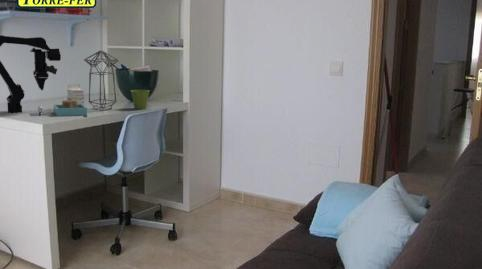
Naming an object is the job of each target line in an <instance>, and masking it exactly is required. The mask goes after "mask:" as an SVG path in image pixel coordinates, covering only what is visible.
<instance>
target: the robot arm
mask: <svg viewBox="0 0 482 269" xmlns="http://www.w3.org/2000/svg"><path fill="white" fill-rule="evenodd" d="M3 44H13V45H24V46H29V47H32V48H31V49H30V51H29V52H30V53H33V54H34V56H33V57H34V62H33V63H34V70H33V71H32V72H33V73H32V74H33V77H34V80H35V81H36V84H37V86H38V89H39V90H41V91H44V88H45V82H46V80H48V79H49V77H50V76H49V73H51V74H53V75H55V76H56V75H57V72H58V69H57V68H56V67H55V66H54V65H50V66H49V65H48V63H47V60H48V61H49V62H59V61H61V58H62V57H61V56H62V55H61V52H60V48H50V47H49V46H48V44H47V41H46V39H45V38H44V37H41V36H40V37H38V36H35V37H17V36H8V35H7V36H6V35H3V34H2V35H0V47H2V45H3ZM0 76H1V78H2V80H3V81H4V83H5V85H6V87H7V89H8V91H9V95H8V96H7V97H6V100H7V114H18V113H23V106H22V104H21V103H22V102H21V101H22V100H23V99H24V98H25V94H26V93H25V90H24V89H23V88H22V85H21V84H19V83H15V82H14V80H13V78H12V77H11V75H10V73H9V72H8V70H7V69H6V67H5V66H4V64H3V62H2V61H1V60H0Z"/></svg>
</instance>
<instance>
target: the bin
mask: <svg viewBox="0 0 482 269" xmlns="http://www.w3.org/2000/svg"><path fill="white" fill-rule="evenodd" d="M53 113H54V114H55V115H56V116H57V117H71V116H72V117H74V116H83V118H87V117H88V108H87V107H86V106H85V104H84V105H82V104H77V108H62V104H53Z"/></svg>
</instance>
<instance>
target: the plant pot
mask: <svg viewBox="0 0 482 269" xmlns="http://www.w3.org/2000/svg"><path fill="white" fill-rule="evenodd" d="M130 92H131V97H132V100H133V107H134V109H135V110H145V109H147V106H148V100H149V94H150V90H148V89H132V90H130Z"/></svg>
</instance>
